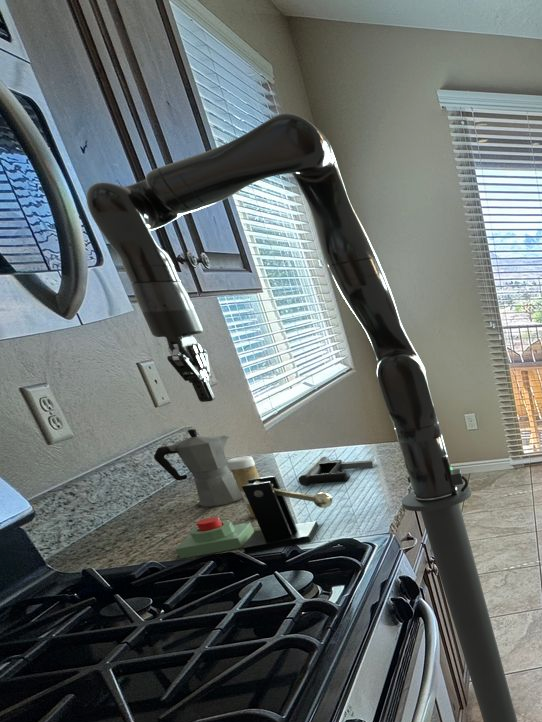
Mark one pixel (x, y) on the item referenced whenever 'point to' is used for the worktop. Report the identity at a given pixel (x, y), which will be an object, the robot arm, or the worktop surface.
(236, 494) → the coffeepot
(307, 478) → the black handled frame
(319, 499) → the switch lever
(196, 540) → the button box
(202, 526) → the red button
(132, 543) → the worktop surface
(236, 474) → the sprinkles bottle
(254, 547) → the switch bracket
